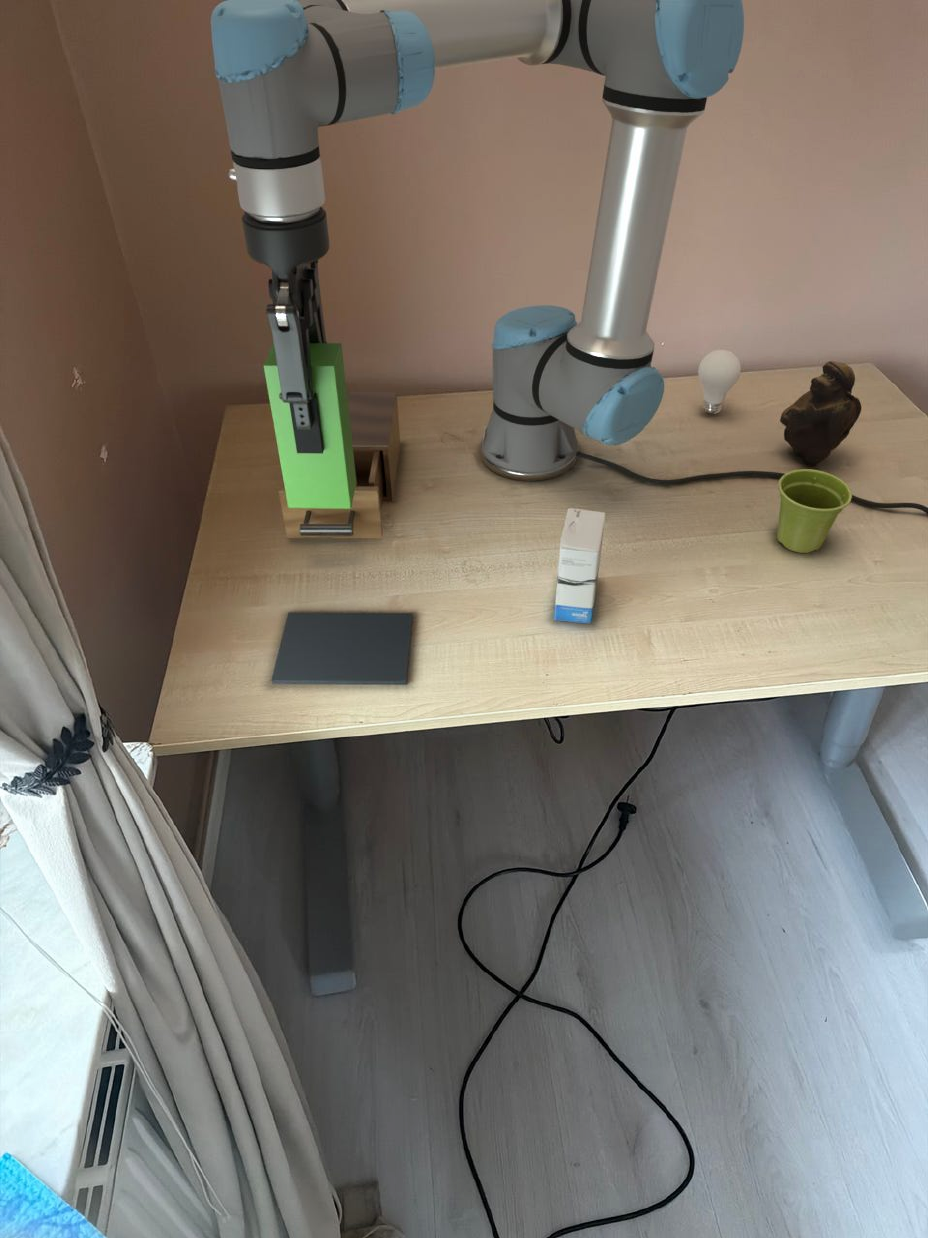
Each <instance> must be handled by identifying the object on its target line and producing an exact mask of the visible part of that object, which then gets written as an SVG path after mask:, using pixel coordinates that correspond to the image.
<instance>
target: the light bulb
mask: <svg viewBox="0 0 928 1238" xmlns="http://www.w3.org/2000/svg"><path fill="white" fill-rule="evenodd" d="M741 367H742V366H741V363H740V360H739V359H738V357H737V355H735V354H734V353H733V352H731V351H729V350H726V349H715V350H713V351H711V352H709V353H707V354H705V356H704V357H703V358H702V360H701V361H700V363H699V366H698V369H697V370H698V371H697V374H698V379H699V382H700V384H701V386H702V388H703V410H704V412H706V413H708V414H709V415H715V414H719V413H720V412H721V411H722V407H723V402H724V401H725V399H726V396H727V394H728V392H729V391H730V390H732V388H733V387H734V386H735V385H736V384H737V382H738V380H739V378H740V375H741V372H742V368H741Z"/></svg>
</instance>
